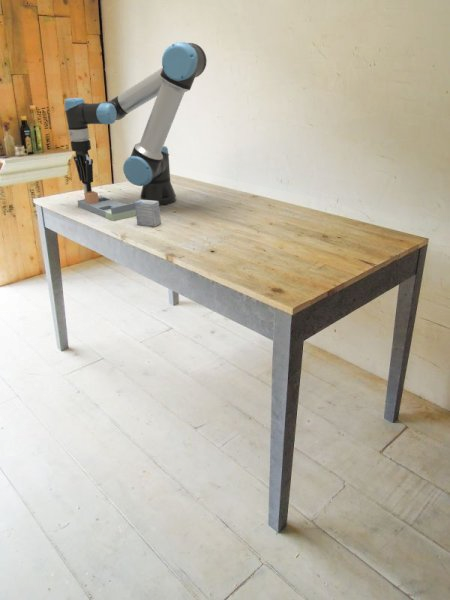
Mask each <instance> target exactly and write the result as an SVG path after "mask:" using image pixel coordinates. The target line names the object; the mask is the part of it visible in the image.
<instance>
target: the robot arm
mask: <svg viewBox="0 0 450 600" xmlns="http://www.w3.org/2000/svg"><path fill="white" fill-rule="evenodd" d="M161 66H162V68H160V69H158V70H156V71H155V72H154V73H152V74H150V75H149V76H147V77H145V78H144V79H143V80H141V81H139V82H137V83H136V84H134V85H133V86H131V87H129V88H128V89H126V90H125V91H123V92H122V93H120V94H119V95H117V96H115V97H113V98H112V99H111V100H107V101H102V102H98V103H97V102H94V103H85V100H84V98H83V97H70V98H66V99H64V102H63V103H64V112H65V115H66V117H65V118H66V121H67V128H68V136H69V139H70V140H71V141H70V146H71V147H70V148H71V150H72V152H75V156H73V160H74V163H75V166H76V167H75V168H76V171H77V174H78V178H79V181H81V183H82V185H83V186H82V187H83V194H84V193H86V192H92V191H93V190H92V184H91V183H93V182H94V170H93V163H94V159H93V158H90V155H89V151H90V150H92V146H91V140H90V132H89V130H90V129H89V126H88V125H104V126H105V125H112V124H114V123H115V122H116V121H119V120H122V119H123V118H125V117H126V115H128V114H129V113H131V112H133V111H134V110H136V109H138V108H139V107H141V106H143V105H144V104H146V103H148V102H149V101H151V100H152V99H155V100H154V103H153V106H152V109H151V112H150V113H149V114H150V115H149V116H148V120H147V121H146V122H147V123H146V126H145V127H144V131H143V133H142V136H141V139H140V141H139V142H138V143H135V144H134V146H133V149H132V152H131V154H130V156H129V157H127V158H126V159H125V161H124V163H123V166H122V170H123V175H124V176H125V179H126V180H127V181H128V182H129V183H131V184H132V185H134V186H137V187H142V188H141V192H140V197H139V198H140V199H139V200H153V201H159V206H161V205H169V204H172V203H174V202H176V201H177V196H176V192H175V190H174V188H173V185H172V182H171V174H170V173H171V171H170V169H171V168H170V158H169V156H170V153H169V150H168V146H166V145H165V142H166V140H167V138H168V135H169V133H170V130H171V127H172V125H173V123H174V120H175V117H176V115H177V112H178V110H179V107H180V105H181V102H182V100H183V97H184V95H185V93H186V92H188V91H190V90H191V88H192V86H193V83H194V81H195V78H198V77H200V76H201V75H202V74H203V72H204V71H205V70H206V66H207V55H206V53H205V50H204V49H203V48H202V47H201V46H200V45H198V44H197V43H192V42H184V41H183V42H182V41H181V42H180V41H179V42H176V43H172V44H170V45H169V46H168V47H167V48H166V49H164V52H163V54H162V58H161Z"/></svg>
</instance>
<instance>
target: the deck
mask: <svg viewBox="0 0 450 600" xmlns="http://www.w3.org/2000/svg"><path fill="white" fill-rule="evenodd" d="M98 199H99V203H94V204H88V203H86V201H85V198H84V199H80V200H79V199H78V200H77V204H78V205H77V206H78V207H79V208H81V209H83V210H86V211H89V212H91V213H94V214H95V215H98V216H101V217H102V218H105V219H107V220H110V221H113V222H116V221H120V220H124V219H129V218H131V217H136V209H135V202H136V201H135V202H134V201H133V202H130V203H126V204H125V203H123V202H120V201H116V200H114V199H111V198H108V197H106V196H103V195H98Z"/></svg>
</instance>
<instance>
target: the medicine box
mask: <svg viewBox="0 0 450 600" xmlns="http://www.w3.org/2000/svg"><path fill="white" fill-rule="evenodd" d="M135 209H136V216H135V217H136V223H137V226H145V227H157V226H159V225H160V224H162V221H161V220H162V219H161V211H160V205H159V201H153V200H141V199H139V200H137V201H135Z"/></svg>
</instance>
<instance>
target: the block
mask: <svg viewBox="0 0 450 600" xmlns="http://www.w3.org/2000/svg"><path fill="white" fill-rule="evenodd" d="M83 194H84V199H85V201H86V203H88V204H94V203H99V199H98V196H99V193H98V192H96V191H93V190H92V192H86V193H84V192H83Z"/></svg>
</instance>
